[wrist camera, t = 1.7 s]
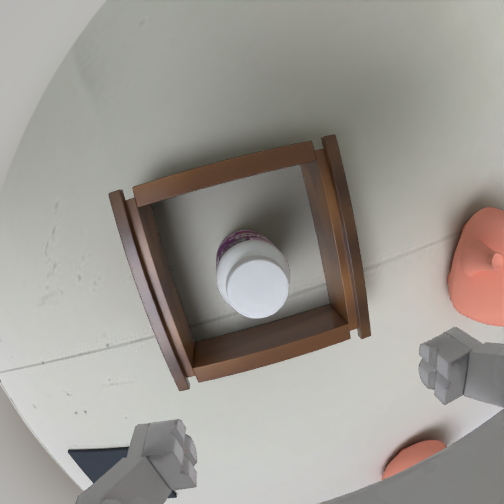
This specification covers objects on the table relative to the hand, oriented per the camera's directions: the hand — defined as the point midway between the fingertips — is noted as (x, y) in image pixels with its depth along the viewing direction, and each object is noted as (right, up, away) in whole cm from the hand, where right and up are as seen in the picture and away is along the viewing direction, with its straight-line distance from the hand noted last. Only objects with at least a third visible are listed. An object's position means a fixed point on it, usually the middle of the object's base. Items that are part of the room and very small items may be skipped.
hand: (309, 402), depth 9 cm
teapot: (+25, +4, +24) cm, 35 cm away
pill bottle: (-2, +4, +21) cm, 21 cm away
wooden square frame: (-2, +4, +20) cm, 21 cm away
